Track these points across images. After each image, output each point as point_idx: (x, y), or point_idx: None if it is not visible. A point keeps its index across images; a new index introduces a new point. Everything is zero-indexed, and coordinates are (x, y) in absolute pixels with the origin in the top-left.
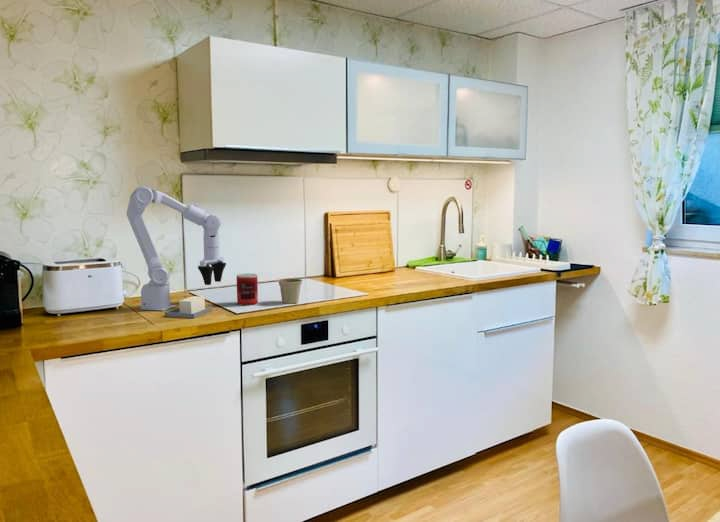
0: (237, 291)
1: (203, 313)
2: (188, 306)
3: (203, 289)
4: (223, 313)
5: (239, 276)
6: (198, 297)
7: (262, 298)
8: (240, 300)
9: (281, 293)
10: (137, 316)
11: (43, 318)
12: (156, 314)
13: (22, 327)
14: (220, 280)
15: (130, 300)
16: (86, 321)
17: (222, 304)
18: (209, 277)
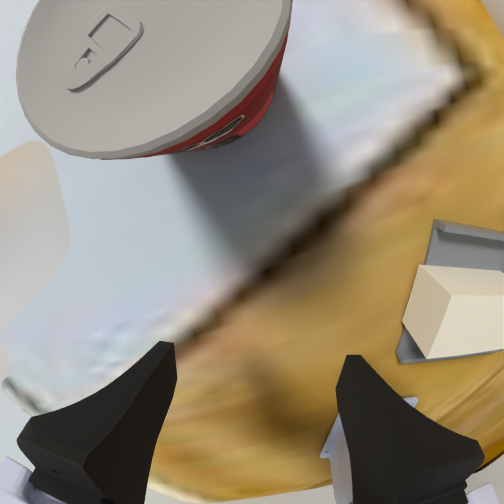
0: (243, 126)
1: (492, 230)
2: None
3: (28, 397)
4: (475, 142)
5: (272, 51)
6: (464, 315)
7: None
8: (270, 101)
9: None
10: (466, 405)
11: None
12: (457, 383)
13: (478, 467)
14: (164, 346)
15: (247, 498)
16: None
17: (262, 230)
18: (395, 398)
